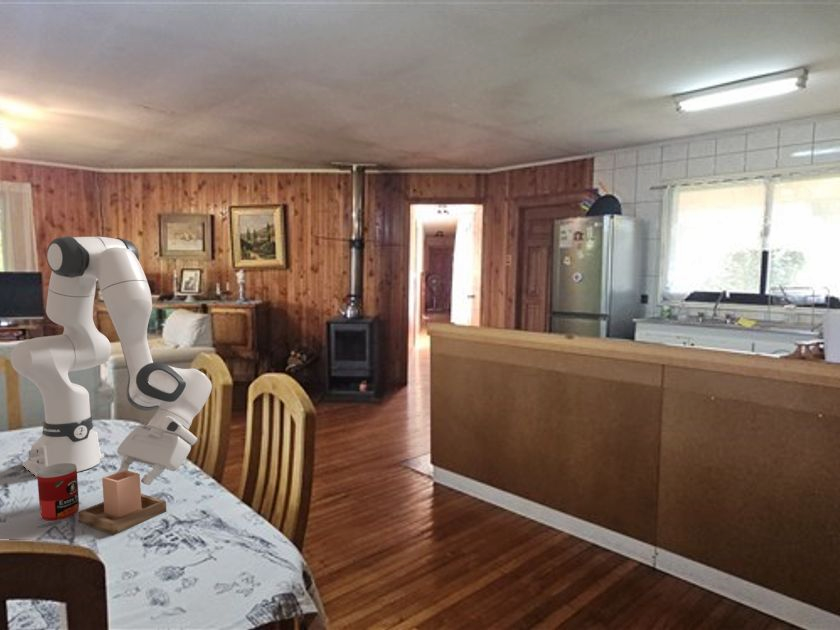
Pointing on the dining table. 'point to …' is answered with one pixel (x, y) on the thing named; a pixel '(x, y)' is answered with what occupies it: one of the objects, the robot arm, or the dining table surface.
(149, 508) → the tray
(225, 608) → the dining table surface
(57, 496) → the canned food
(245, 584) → the dining table surface
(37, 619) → the dining table surface
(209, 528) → the dining table surface
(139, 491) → the open rectangular container
